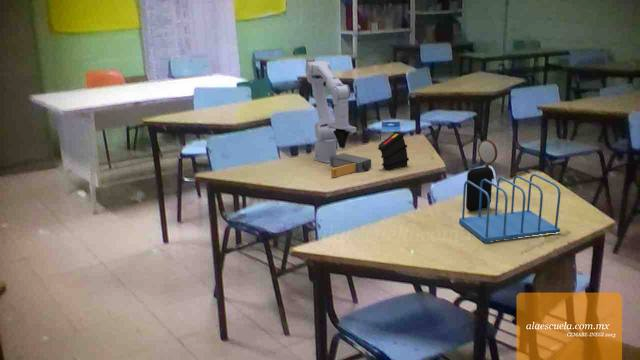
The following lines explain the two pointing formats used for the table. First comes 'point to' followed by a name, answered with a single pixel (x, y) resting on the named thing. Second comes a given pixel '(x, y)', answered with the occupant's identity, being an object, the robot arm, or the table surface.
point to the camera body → (350, 161)
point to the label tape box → (389, 129)
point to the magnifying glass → (487, 152)
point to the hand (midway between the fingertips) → (342, 147)
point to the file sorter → (509, 216)
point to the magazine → (394, 152)
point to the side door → (343, 170)
